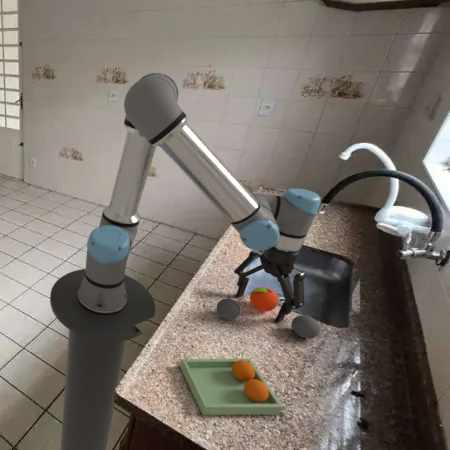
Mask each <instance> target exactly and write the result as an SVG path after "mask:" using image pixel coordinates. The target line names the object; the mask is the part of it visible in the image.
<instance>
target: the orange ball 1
mask: <svg viewBox="0 0 450 450" xmlns="http://www.w3.org/2000/svg"><path fill="white" fill-rule="evenodd" d="M232 373H233V375H234V376H235V377H236V378H237V379H239V380H241V381H248V380H251V379H253V378H254V376H255V370H254V368H253V366H252V365H251V364H250V363H248V362H247V361H244V360H238V361H236V362H234V363H233V365H232Z"/></svg>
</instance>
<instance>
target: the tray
mask: <svg viewBox="0 0 450 450" xmlns="http://www.w3.org/2000/svg"><path fill="white" fill-rule="evenodd" d="M238 360H244V361H247V362H248V363H250V364H251V365H252V366H253V368H254V370H255V376H254V378H253V379H256V380H259V381H261V382H263V383H264V384H265V385H266V387H267V388H268V391H269V396H268V398H267V399H266V400H265V401H263V402H255V401H252V400H251V399H249V398H248V397H247V396H246V394H245V392H244V384H245V383H246V382H247V381H241V380H239V379H237V378H236V377H235V376H234V375H233V373H232V365H233V363H234V362H236V361H238ZM179 368H180V370H181V372H182V374H183V376H184V378H185V381H186V383H187V385H188V387H189V389H190V391H191V393H192V396H193V398H194V400H195V402H196V404H197V406H198V409H199V410H200V413H201V414H202V415H201V416H233V415H234V416H236V415H237V416H240V415H241V416H242V415H244V416H246V415H248V416H249V415H250V416H251V415H252V416H253V415H254V416H255V415H256V416H257V415H270V416H271V415H281V412H282V411H283V409H284V406H283V404H282V402H281V401H280V399H279V398H278V397H277V396H276V394H275V392H274V391H273V389H272V388H271V387H270V386H269V384H268V383H267V381H266V380H265V378H264V376H263V375H262V374H261V373H260V371H259V370H258V368H257V366H256V365H255V364H254V362H253V361H252V359H251V358H182V359H181V361H180V364H179Z"/></svg>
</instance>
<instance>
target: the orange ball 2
mask: <svg viewBox="0 0 450 450" xmlns="http://www.w3.org/2000/svg"><path fill="white" fill-rule="evenodd" d="M244 392H245V394H246V396H247V397H248V398H249V399H251V400H252V401H255V402H263V401H265V400H266V399H267V398H268V396H269V391H268V388H267V387H266V385H265V384H264V383H263V382H261V381H259V380H256V379H251V380H248V381H247V382H246V383H245V384H244Z"/></svg>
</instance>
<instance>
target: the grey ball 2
mask: <svg viewBox="0 0 450 450" xmlns="http://www.w3.org/2000/svg"><path fill="white" fill-rule="evenodd" d="M290 326H291V329H292V331H293V333H294V334H295V335H297V336H298V337H300V338H302V339H306V340H307V339H314V338H316V337H317V336H318V335H319V334H320V331H321V326H320V324H319V322H318V320H317V319H315V318H313V317H312V316H309V315H297V316H296V317H294V318H293V319H292V321H291V324H290Z"/></svg>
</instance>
